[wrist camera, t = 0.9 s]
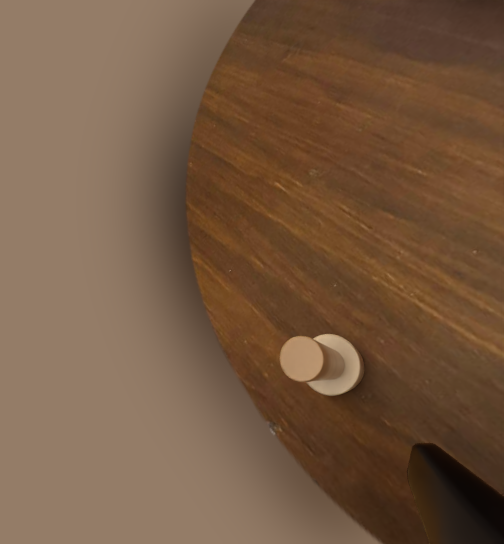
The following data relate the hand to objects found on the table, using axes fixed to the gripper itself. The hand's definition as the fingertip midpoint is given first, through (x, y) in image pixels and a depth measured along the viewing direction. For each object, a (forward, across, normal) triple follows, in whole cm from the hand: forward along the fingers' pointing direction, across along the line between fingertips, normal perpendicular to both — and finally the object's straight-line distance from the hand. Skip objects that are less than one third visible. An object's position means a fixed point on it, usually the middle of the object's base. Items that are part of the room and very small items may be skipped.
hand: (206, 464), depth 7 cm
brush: (+13, -7, +7) cm, 16 cm away
